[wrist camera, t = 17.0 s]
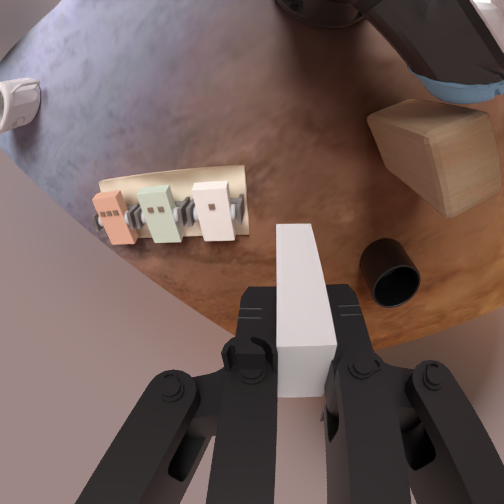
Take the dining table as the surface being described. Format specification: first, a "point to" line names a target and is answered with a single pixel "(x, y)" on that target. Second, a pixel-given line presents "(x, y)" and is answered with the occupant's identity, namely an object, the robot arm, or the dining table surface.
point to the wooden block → (439, 152)
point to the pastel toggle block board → (181, 195)
